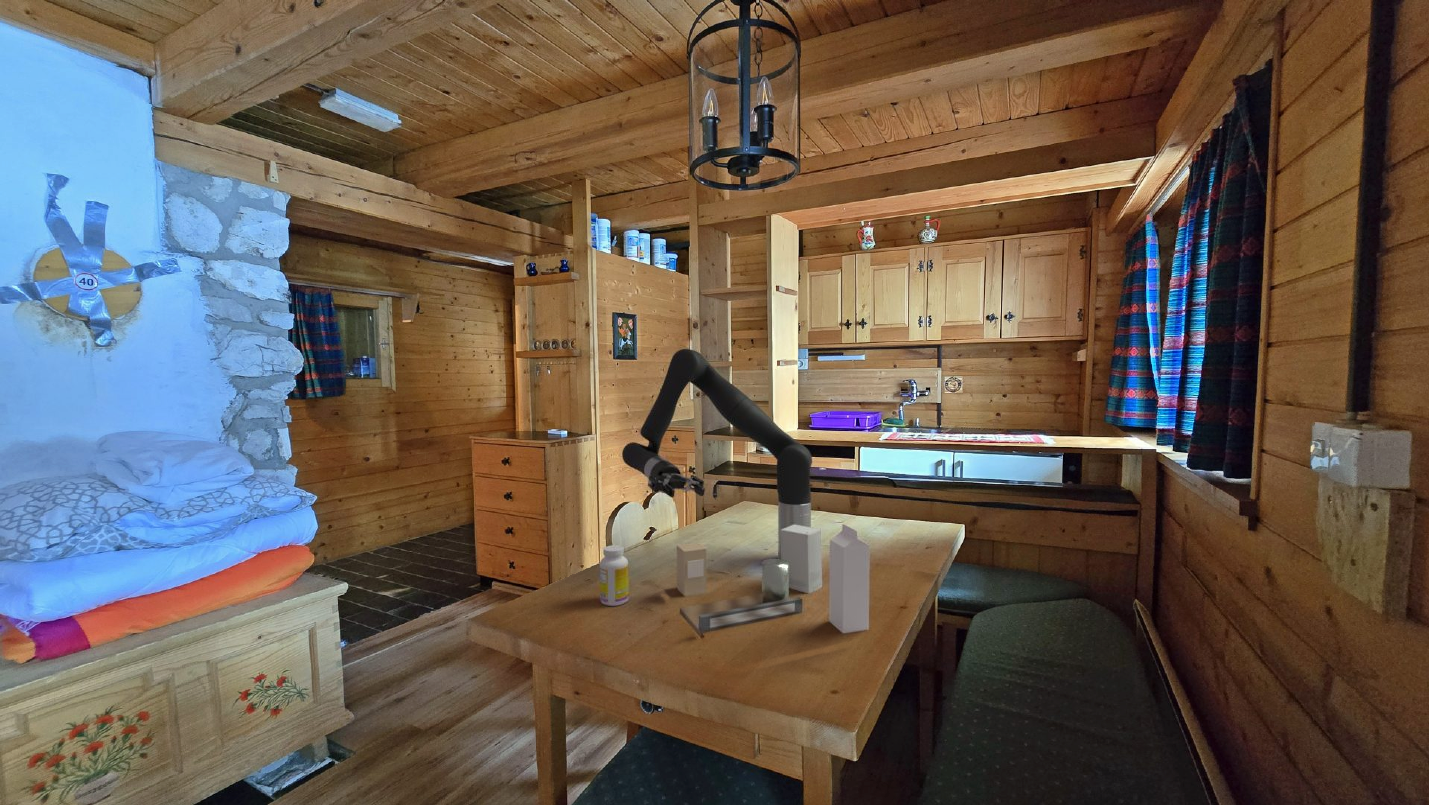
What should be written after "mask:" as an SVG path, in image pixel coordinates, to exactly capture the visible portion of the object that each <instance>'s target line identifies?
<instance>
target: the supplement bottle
mask: <svg viewBox="0 0 1429 805" xmlns="http://www.w3.org/2000/svg"><path fill="white" fill-rule="evenodd" d="M624 549H625V548H624V546H623V545H618V544H615V545H613V544H611V545H608V546H605V547H603V555H604V557H603V558H601V560H600V562H599V597H600V602H601V604H602V605H605V606H607V607H608V606H609V607H610V606H611V607H613V606H614V607H615V606H622V605H624V604H626V603H627V602H628V601H629V598H630V597H629V594H630V589H629V561H628V559H627V557H626V556H624V552H625V551H624Z"/></svg>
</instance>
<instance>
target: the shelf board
mask: <svg viewBox="0 0 1429 805" xmlns="http://www.w3.org/2000/svg"><path fill="white" fill-rule="evenodd" d="M801 613H803V598H801V597H800V596H798V597H792V598H789V599H786V600H781V601H775V602H770V603H764V604H762V593H757V594H753V595H745V596H740V597H734V598H728V599H723V600H718V601H711V602H706V603H700V604H694V605H689V606H682V607H679V615H681V616H682V618H683V619H684V620H685V621H686V622H687V624H688V625H690V627H691V628H692V629H693V630H694V631H695V632H696V634H697V635H698V636H699V637H700V638H701V639H702V638H705V637H706V636H705V635H704V634H703V633H704V632H710V631H713V630H719V629H724V628H729V627H730V628H731V627H734V626H741V625H745V624H751V623H755V622H760V621H766V620H767V621H768V620H770V619H776V618H782V617H787V616H793V615H796V614H801Z"/></svg>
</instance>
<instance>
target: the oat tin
mask: <svg viewBox="0 0 1429 805" xmlns="http://www.w3.org/2000/svg"><path fill="white" fill-rule="evenodd" d="M761 594H762V604H764V603H770V602H775V601H781V600H786V599H790V598H789V594H790V588H789V563H788V562H787V561H785V560H782V559H778V558H768V559H765V560H763V561H762V562H761Z"/></svg>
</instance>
